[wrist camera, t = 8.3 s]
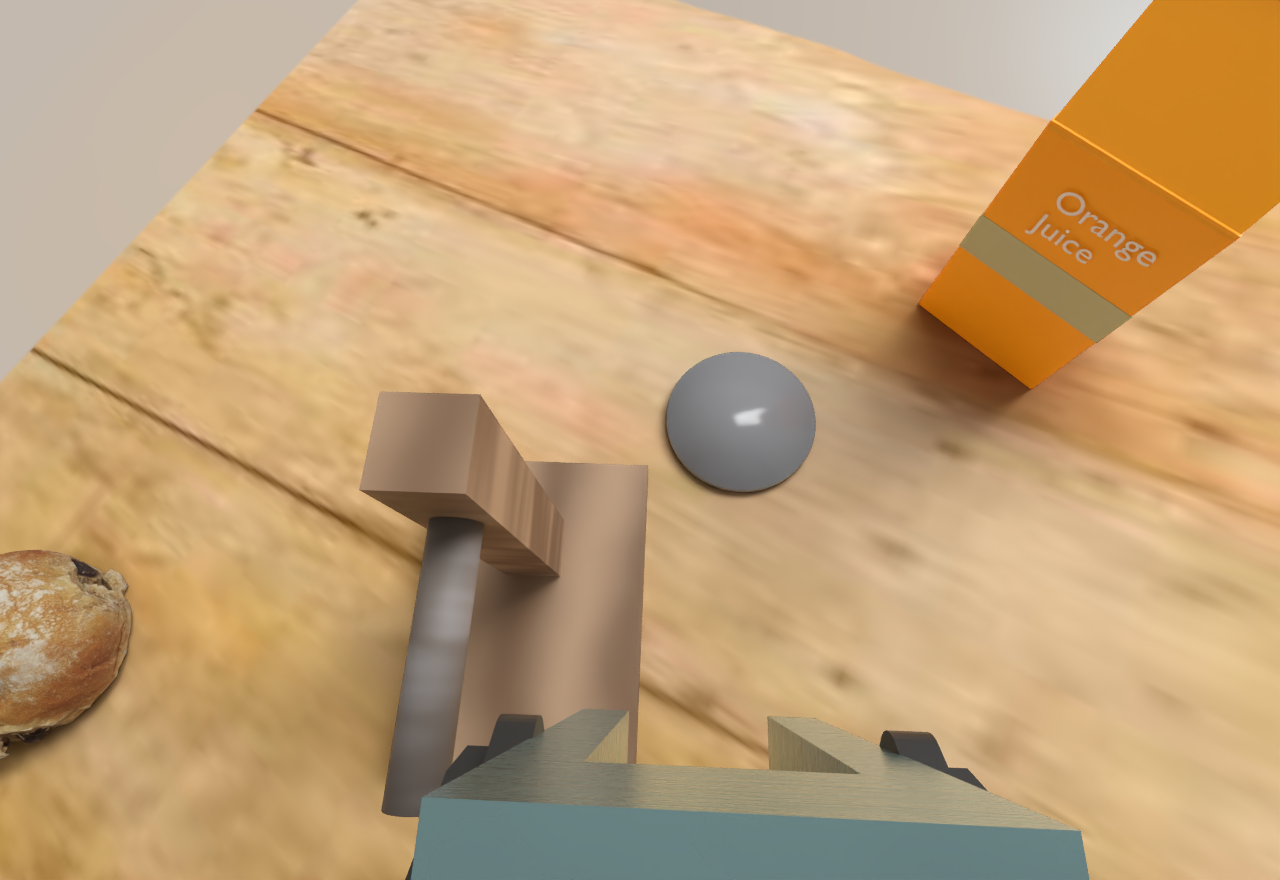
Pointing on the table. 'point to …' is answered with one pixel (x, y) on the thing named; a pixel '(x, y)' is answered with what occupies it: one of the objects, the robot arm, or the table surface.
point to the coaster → (740, 422)
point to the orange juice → (1124, 187)
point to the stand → (504, 583)
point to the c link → (728, 815)
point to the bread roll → (56, 640)
